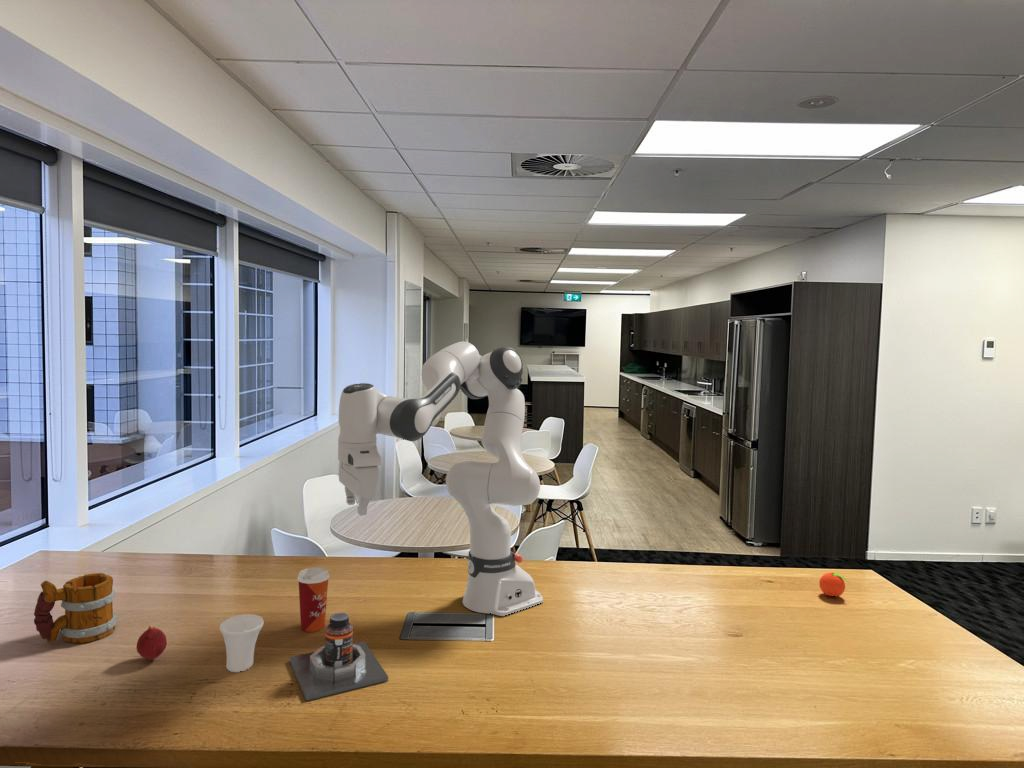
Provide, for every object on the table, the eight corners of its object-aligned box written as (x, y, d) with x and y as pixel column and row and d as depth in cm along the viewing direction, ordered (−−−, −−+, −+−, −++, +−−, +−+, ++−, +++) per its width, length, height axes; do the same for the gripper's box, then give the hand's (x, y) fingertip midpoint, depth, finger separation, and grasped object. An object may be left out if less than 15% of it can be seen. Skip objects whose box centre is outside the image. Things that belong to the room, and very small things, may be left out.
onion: (173, 656, 145) (172, 622, 144) (151, 669, 139) (150, 633, 139) (153, 651, 147) (152, 617, 146) (130, 663, 141) (130, 628, 141)
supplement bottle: (345, 675, 138) (345, 624, 137) (319, 671, 139) (319, 620, 138) (357, 661, 144) (357, 612, 143) (332, 657, 145) (332, 608, 144)
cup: (221, 681, 136) (221, 635, 135) (218, 660, 144) (218, 616, 143) (266, 672, 140) (266, 627, 139) (261, 652, 148) (261, 609, 147)
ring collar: (364, 645, 153) (364, 631, 153) (388, 680, 138) (388, 665, 138) (289, 661, 145) (289, 646, 144) (306, 701, 130) (306, 684, 130)
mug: (124, 633, 154) (123, 572, 153) (40, 657, 142) (38, 591, 141) (110, 618, 162) (108, 559, 160) (29, 640, 150) (27, 576, 148)
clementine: (849, 596, 194) (851, 573, 193) (847, 604, 188) (849, 580, 187) (820, 589, 198) (821, 566, 197) (816, 597, 192) (818, 573, 191)
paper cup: (319, 635, 157) (320, 579, 156) (290, 631, 158) (291, 576, 157) (334, 621, 164) (335, 568, 163) (306, 617, 166) (307, 564, 165)
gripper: (332, 445, 162) (331, 499, 163) (356, 461, 144) (355, 522, 145) (357, 443, 165) (356, 497, 166) (383, 459, 147) (382, 519, 148)
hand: (356, 509), depth 156 cm, fingers open, 8 cm apart
